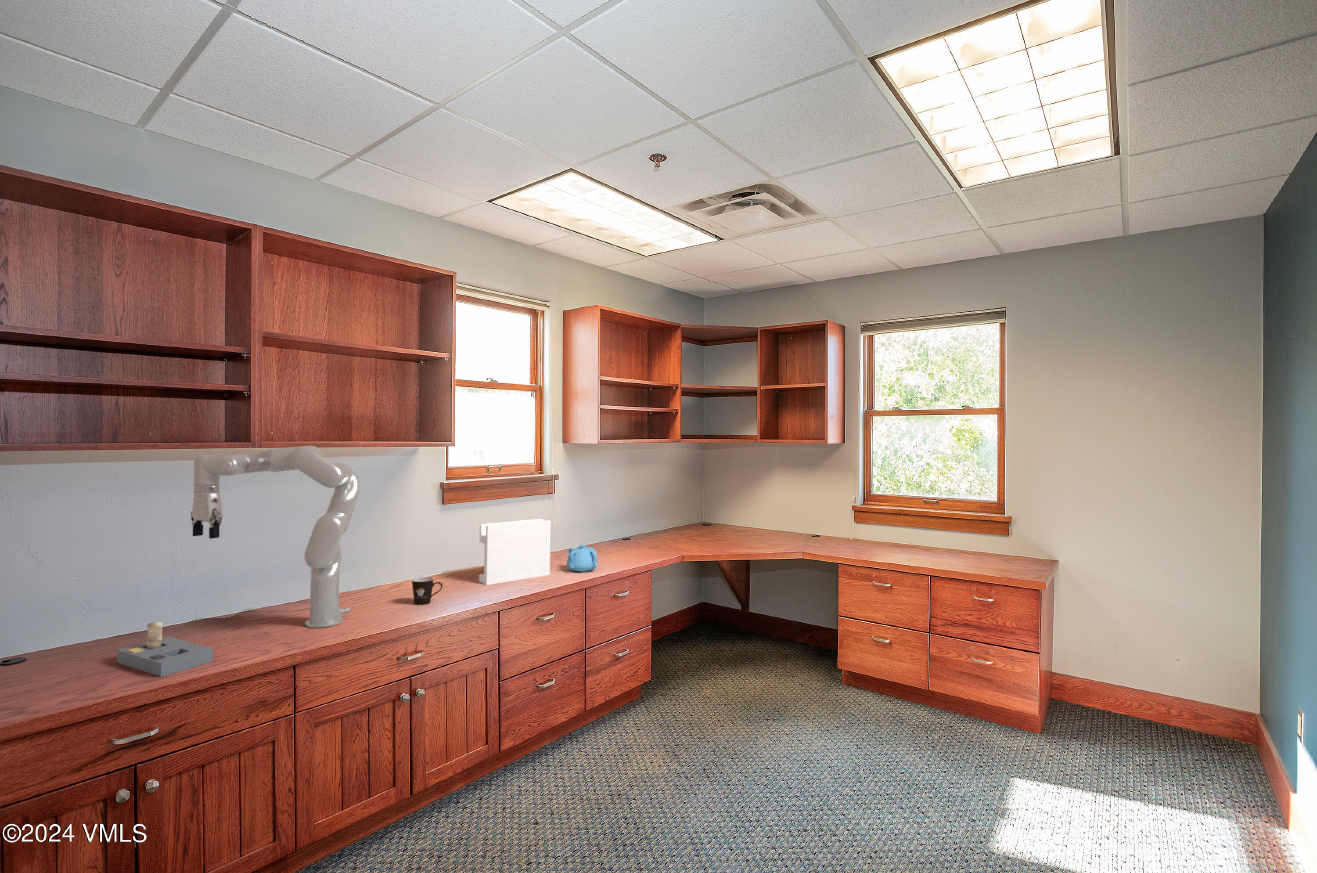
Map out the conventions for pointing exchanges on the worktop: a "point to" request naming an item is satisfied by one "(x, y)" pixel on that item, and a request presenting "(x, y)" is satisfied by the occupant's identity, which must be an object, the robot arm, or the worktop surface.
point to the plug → (154, 635)
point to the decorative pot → (582, 559)
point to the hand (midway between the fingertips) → (205, 536)
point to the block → (515, 550)
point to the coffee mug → (423, 590)
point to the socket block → (165, 656)
